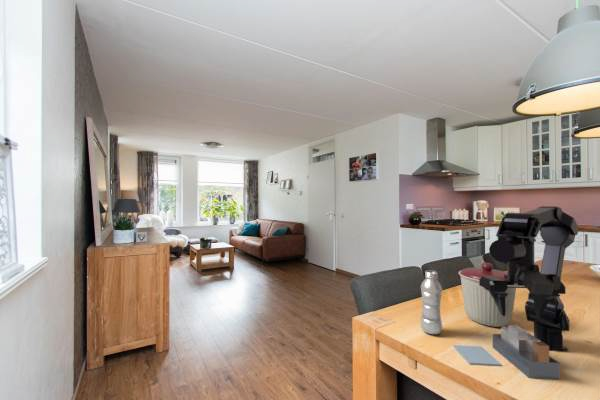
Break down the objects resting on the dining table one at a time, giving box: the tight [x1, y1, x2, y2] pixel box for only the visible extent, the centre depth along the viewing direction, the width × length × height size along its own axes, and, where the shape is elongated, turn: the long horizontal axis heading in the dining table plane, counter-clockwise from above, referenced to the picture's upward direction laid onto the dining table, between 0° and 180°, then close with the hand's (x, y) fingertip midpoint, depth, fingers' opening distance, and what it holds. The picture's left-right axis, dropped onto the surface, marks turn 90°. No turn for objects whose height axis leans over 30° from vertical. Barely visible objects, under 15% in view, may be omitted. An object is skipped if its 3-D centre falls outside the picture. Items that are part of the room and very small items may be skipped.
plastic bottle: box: [420, 269, 443, 335], centre depth 89 cm, size 6×7×20 cm
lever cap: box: [500, 324, 541, 352], centre depth 74 cm, size 7×5×4 cm
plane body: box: [492, 325, 560, 380], centre depth 73 cm, size 14×7×8 cm, turn 175°
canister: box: [458, 262, 517, 328], centre depth 98 cm, size 18×18×21 cm
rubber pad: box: [452, 344, 502, 367], centre depth 76 cm, size 9×8×1 cm
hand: (520, 316), depth 74 cm, fingers open, 9 cm apart
